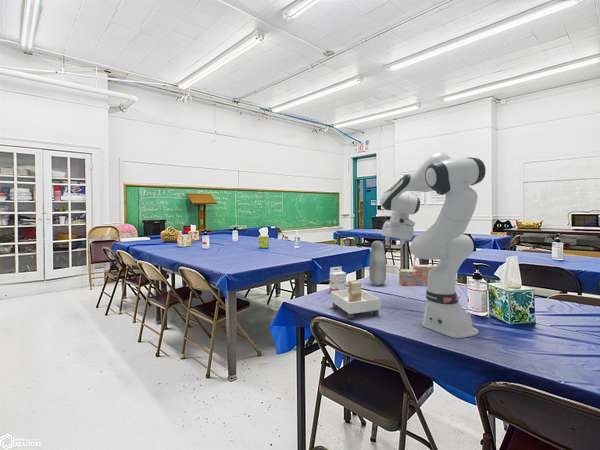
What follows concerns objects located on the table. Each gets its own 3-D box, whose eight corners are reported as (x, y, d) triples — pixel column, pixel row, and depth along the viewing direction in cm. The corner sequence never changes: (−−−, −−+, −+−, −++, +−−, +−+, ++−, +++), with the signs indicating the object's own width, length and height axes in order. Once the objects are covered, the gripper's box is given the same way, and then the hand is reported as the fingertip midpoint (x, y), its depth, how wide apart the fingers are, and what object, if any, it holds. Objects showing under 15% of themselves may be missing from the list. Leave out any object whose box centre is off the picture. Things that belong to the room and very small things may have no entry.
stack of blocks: (401, 286, 203) (401, 266, 202) (399, 283, 209) (399, 264, 208) (436, 286, 201) (437, 266, 200) (433, 283, 207) (433, 264, 206)
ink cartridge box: (333, 294, 188) (333, 269, 187) (329, 292, 192) (329, 267, 191) (346, 292, 192) (346, 267, 190) (341, 290, 196) (341, 266, 195)
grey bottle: (370, 282, 213) (370, 239, 211) (387, 283, 209) (387, 240, 207) (367, 286, 204) (367, 241, 202) (384, 287, 200) (384, 242, 198)
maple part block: (361, 302, 157) (361, 282, 156) (352, 304, 155) (352, 283, 155) (356, 300, 161) (356, 280, 160) (348, 301, 160) (348, 281, 159)
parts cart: (380, 316, 152) (380, 298, 151) (349, 321, 147) (349, 303, 146) (359, 303, 171) (359, 288, 170) (331, 307, 165) (330, 291, 165)
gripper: (381, 218, 178) (375, 243, 178) (408, 220, 160) (402, 248, 159) (390, 220, 181) (384, 245, 181) (417, 223, 162) (411, 250, 162)
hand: (393, 246), depth 170 cm, fingers open, 8 cm apart
